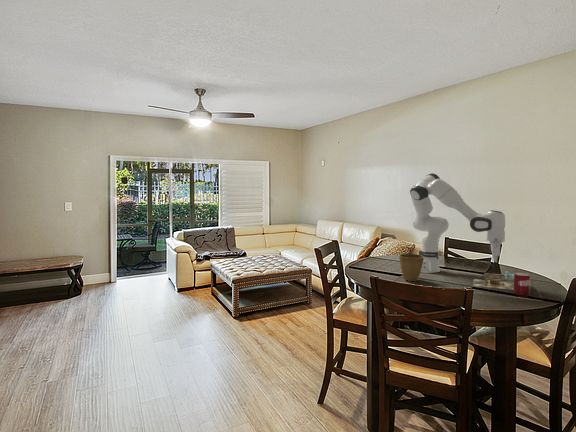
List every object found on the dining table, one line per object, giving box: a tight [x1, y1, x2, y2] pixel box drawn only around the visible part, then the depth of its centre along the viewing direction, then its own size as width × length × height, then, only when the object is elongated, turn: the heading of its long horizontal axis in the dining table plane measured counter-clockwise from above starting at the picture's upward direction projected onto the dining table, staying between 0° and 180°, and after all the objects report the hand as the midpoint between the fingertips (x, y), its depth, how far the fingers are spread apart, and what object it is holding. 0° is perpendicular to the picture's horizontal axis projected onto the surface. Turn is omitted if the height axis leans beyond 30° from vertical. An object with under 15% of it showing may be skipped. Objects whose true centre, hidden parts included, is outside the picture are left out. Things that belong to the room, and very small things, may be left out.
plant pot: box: [398, 253, 424, 282], centre depth 216 cm, size 15×15×16 cm
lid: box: [503, 270, 515, 281], centre depth 195 cm, size 8×14×3 cm, turn 150°
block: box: [489, 275, 500, 285], centre depth 200 cm, size 4×4×4 cm
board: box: [472, 272, 514, 291], centre depth 199 cm, size 24×17×6 cm
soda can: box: [513, 272, 531, 299], centre depth 181 cm, size 7×7×12 cm
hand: (495, 261), depth 199 cm, fingers open, 3 cm apart
